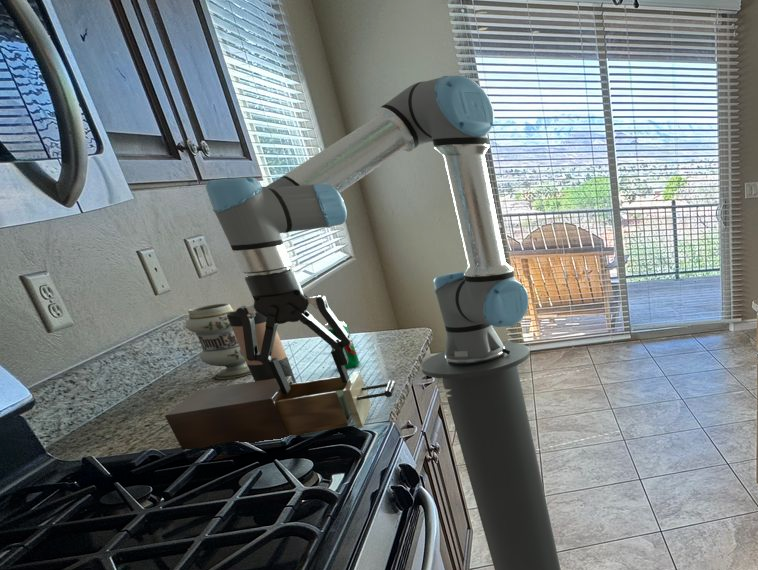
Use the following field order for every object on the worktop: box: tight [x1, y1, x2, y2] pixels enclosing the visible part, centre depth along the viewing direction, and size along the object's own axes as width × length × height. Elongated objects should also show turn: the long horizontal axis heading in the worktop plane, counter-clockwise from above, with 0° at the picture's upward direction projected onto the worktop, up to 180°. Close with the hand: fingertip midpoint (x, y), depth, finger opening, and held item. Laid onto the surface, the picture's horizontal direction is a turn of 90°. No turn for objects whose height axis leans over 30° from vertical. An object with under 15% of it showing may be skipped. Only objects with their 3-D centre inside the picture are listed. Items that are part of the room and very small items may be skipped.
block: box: [320, 390, 351, 417], centre depth 114 cm, size 4×4×4 cm
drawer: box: [275, 370, 396, 437], centre depth 114 cm, size 21×13×8 cm, turn 113°
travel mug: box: [227, 310, 297, 383], centre depth 130 cm, size 8×8×20 cm
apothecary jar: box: [185, 303, 252, 380], centre depth 148 cm, size 12×12×18 cm
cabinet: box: [164, 376, 293, 461], centre depth 109 cm, size 16×14×10 cm
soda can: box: [324, 320, 361, 370], centre depth 149 cm, size 5×5×12 cm
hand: (316, 385), depth 112 cm, fingers open, 10 cm apart
